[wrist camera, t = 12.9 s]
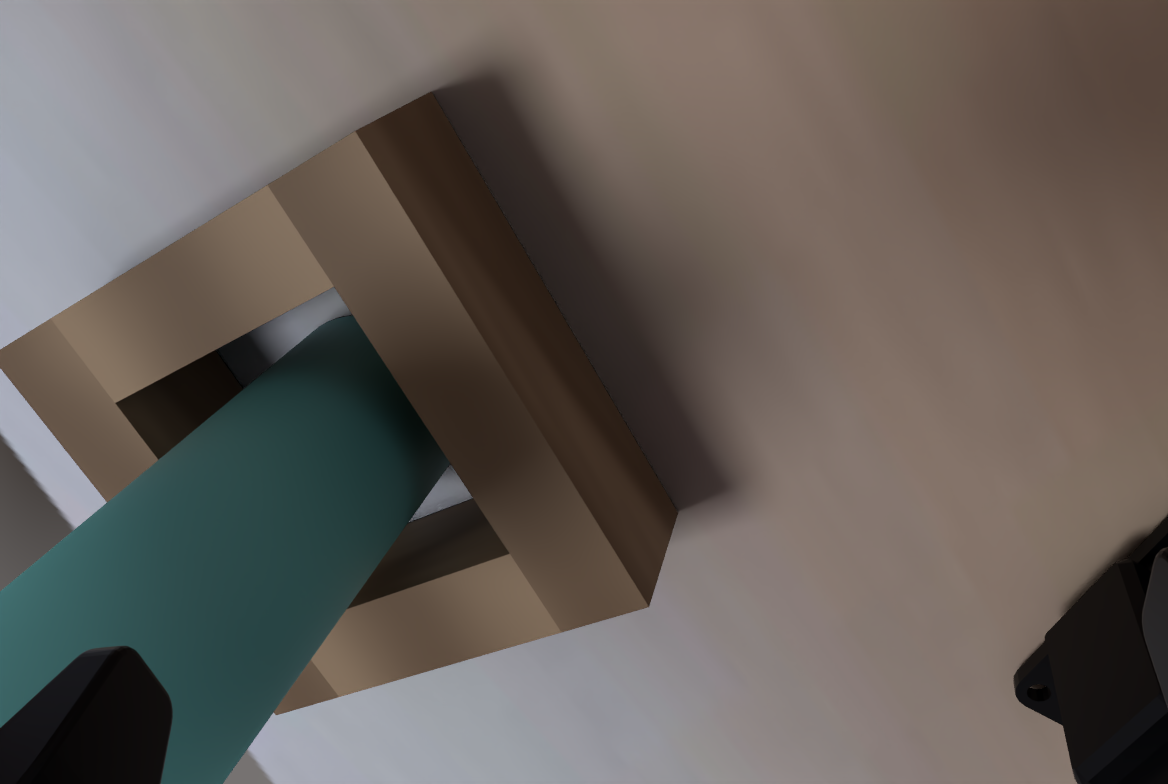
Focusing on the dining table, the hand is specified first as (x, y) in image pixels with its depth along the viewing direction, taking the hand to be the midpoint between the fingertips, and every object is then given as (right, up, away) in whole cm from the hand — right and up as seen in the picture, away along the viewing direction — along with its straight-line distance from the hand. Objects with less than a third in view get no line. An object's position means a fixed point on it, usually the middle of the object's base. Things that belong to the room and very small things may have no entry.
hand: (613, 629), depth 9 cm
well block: (-5, +2, +16) cm, 17 cm away
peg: (-5, +2, +16) cm, 17 cm away
